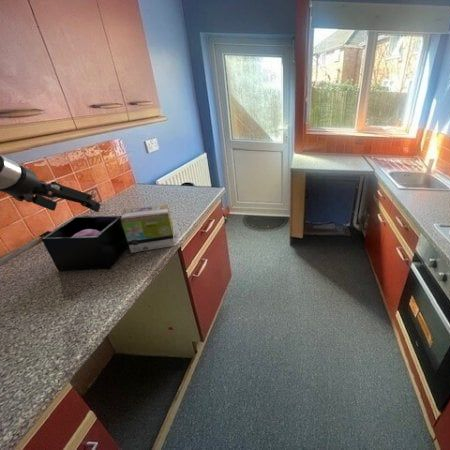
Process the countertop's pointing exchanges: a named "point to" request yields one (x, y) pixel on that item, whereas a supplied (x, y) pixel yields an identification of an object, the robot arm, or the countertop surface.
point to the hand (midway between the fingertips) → (76, 207)
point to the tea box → (148, 227)
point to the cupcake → (86, 233)
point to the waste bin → (87, 244)
